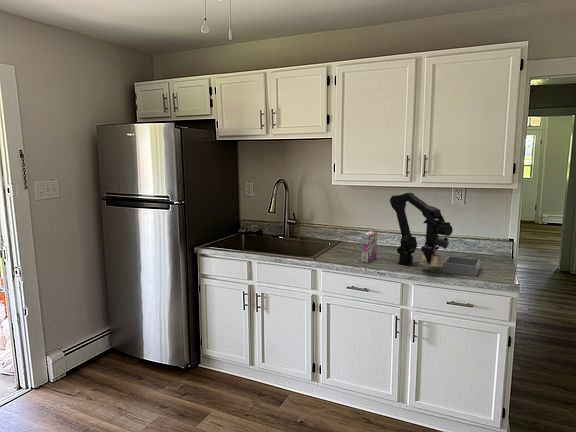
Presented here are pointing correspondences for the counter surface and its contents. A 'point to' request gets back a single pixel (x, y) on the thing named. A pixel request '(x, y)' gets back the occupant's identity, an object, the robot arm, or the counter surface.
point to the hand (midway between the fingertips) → (430, 261)
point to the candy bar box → (369, 247)
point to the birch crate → (434, 260)
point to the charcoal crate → (461, 265)
